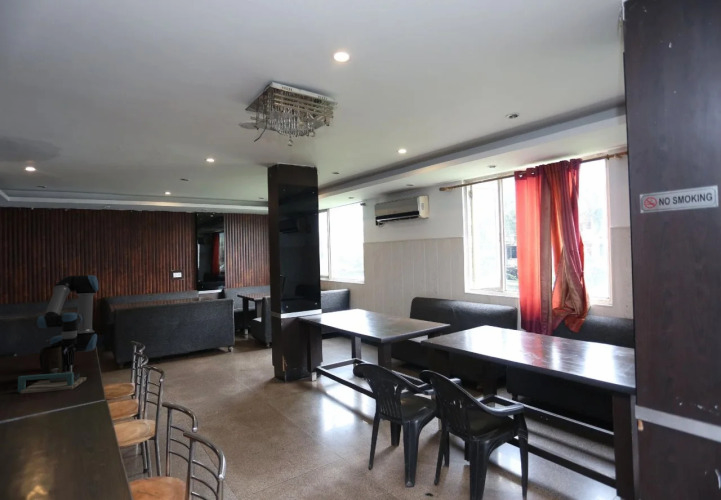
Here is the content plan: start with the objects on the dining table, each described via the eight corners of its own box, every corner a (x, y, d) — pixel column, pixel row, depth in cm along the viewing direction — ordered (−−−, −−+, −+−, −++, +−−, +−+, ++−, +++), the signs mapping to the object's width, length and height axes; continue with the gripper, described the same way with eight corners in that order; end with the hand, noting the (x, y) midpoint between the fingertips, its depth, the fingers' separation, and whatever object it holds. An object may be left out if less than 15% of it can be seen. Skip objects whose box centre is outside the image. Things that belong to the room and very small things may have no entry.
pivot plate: (39, 383, 240) (39, 367, 240) (86, 379, 246) (86, 364, 247) (20, 393, 221) (20, 376, 221) (71, 389, 227) (72, 373, 227)
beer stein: (67, 375, 256) (65, 344, 257) (53, 380, 245) (51, 348, 246) (45, 376, 257) (44, 346, 258) (30, 381, 247) (29, 349, 247)
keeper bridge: (20, 391, 225) (20, 376, 225) (73, 386, 232) (73, 372, 232) (17, 392, 223) (17, 377, 223) (71, 387, 230) (71, 373, 230)
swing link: (48, 382, 234) (48, 377, 234) (52, 380, 238) (52, 375, 239) (76, 380, 238) (76, 375, 238) (79, 378, 242) (80, 373, 242)
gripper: (67, 336, 250) (66, 373, 250) (57, 340, 238) (56, 379, 237) (80, 335, 252) (80, 372, 252) (71, 339, 240) (71, 378, 239)
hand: (68, 375), depth 244 cm, fingers closed
